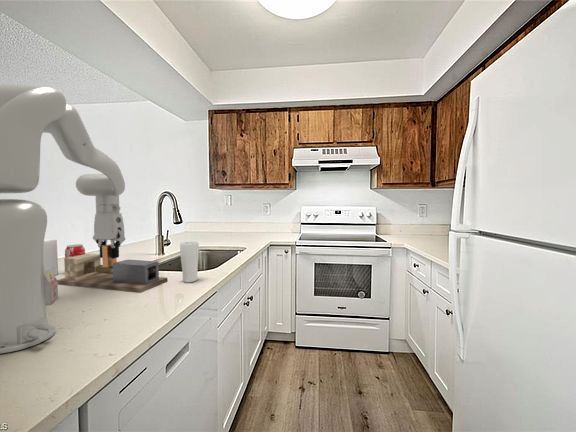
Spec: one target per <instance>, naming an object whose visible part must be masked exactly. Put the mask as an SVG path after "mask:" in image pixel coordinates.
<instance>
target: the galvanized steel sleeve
mask: <svg viewBox="0 0 576 432" xmlns="http://www.w3.org/2000/svg"><path fill="white" fill-rule="evenodd" d="M159 263H160V262H159V261H158V260H157V261H156V260H140V259H124V260H121V261H117V262H116V263H113V282H116V283H127V284H138V285H147V284H150V283H152V282H155V281H157V280H159V277H160V273H159V272H160V269H159V267H160V265H159ZM148 268H149V269H150V271H151V273H150V275H149V276H148Z"/></svg>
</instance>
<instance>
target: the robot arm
mask: <svg viewBox="0 0 576 432" xmlns="http://www.w3.org/2000/svg"><path fill="white" fill-rule="evenodd" d="M43 134H50V135H51V136H52V137H53V139H54V141H55V143H56V144H57V146H58V148H59V150H60V151H61V153H62V155H63V156H64V157H65V159H67V160H69V161H71V162H73V163H76V164H78V165H81V166H84V167H88V168H91V169H93V170H97V171H98V172H100V173H98V174H96V173H88V174H87V173H86V174H82V175H80V176H79V177H77V179H76V181H75V188H76V190H77V191H78V192H79V193H80V194H82V195H83V196H90V197H95V215H94V222H93V223H94V225H93V234H94V235H93V237H92V239H93V241H95V243H96V244H97V246H98V248H99V254H100V259H102V245H108V241H110V244H111V246H112V248H111V249H110V250H111V259H114V258H117V259H118V258H119V257H120V247H121V245H122V244H123V242H125V241H126V237H125V225H124V218H123V215H122V213H121V212H120V211H121V206H120V195H122V194H124V192H125V190H126V189H125V188H126V183H125V179H124V176H123V174H122V171H121V169H120V167H119V165H118V164H117V163H116V162H115V161H114V160H113V159H112V158H111V157H109V156H108V155H107V154H105V153H104V152H103V151H101V150H99V149H98V148H96V147H95V146H94V143H93V141H92V140H91V137H90V135H89V133H88V130H87V129H86V127H85V124H84V122H83V120H82V118H81V116H80V114H79V111H78V110H77V109H76V108H75V107H74V106H73V105H71V104H69V103H67V99H66V97H65V95H64V93H62V92H61V91H60V90H59V89H57V88H53V87H52V86H45V85H30V84H29V85H28V84H9V83H8V84H7V83H6V84H5V83H0V194H25V193H30V192H32V191H34V190H36V188H37V187H38V185H39V183H40V182H39V181H40V174H41V173H40V171H41V170H40V169H41V167H40V166H41V140H42V136H43ZM47 225H48V215H47V212H46V210H45V208H44V207H43V206H42V205H40V204H39V203H37V202H35V201H31V200H28V199H27V200H26V199H19V198H18V199H16V198H15V199H13V198H12V199H11V198H10V199H9V198H6V199H5V198H1V199H0V354H6V353H11V352H17V351H20V350H24V349H27V348H30V347H34V346H36V345H39V344H41V343H44V342H45V341H47V340H49V339H51V338H52V337H53V336H54V334H55V333H56V327H55V325H53V324H51V323H49V318H48V317H47V310H46V309H47V308H46V307H47V305H45V284H44V264H43V245H44V239H45V238H46V237H45V235H46V231H47Z"/></svg>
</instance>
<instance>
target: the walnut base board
mask: <svg viewBox="0 0 576 432" xmlns="http://www.w3.org/2000/svg"><path fill="white" fill-rule="evenodd" d="M167 282H168V277H165V276H164V277H163V276H159V280H157V281H155V282H152V283H150V284H147V285H138V284H127V283H116V282H113V274H104V273H101V274H98V275H95V276H91V277H88V278H84V279H80V280H68V279H65V277H63V278H59V279H57V283H58V285H61V286H69V287H70V286H71V287H72V286H73V287H79V288H80V287H82V288H91V289H101V290H110V291H119V292H130V293H131V292H132V293H138V294H139V293H142V292H145V291H147V290H151V289H153V288H155V287H157V286H160V285H162V284H165V283H167Z"/></svg>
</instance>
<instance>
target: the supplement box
mask: <svg viewBox="0 0 576 432" xmlns="http://www.w3.org/2000/svg"><path fill="white" fill-rule="evenodd" d="M58 262H59V261H58V240H57V239H53V238H52V239H49V238H48V239H47V238H44V245H43V264H44V271H45V270H47V269H48V268H51V270H52V272H53V274H54V276H57V275H59V263H58Z"/></svg>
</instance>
